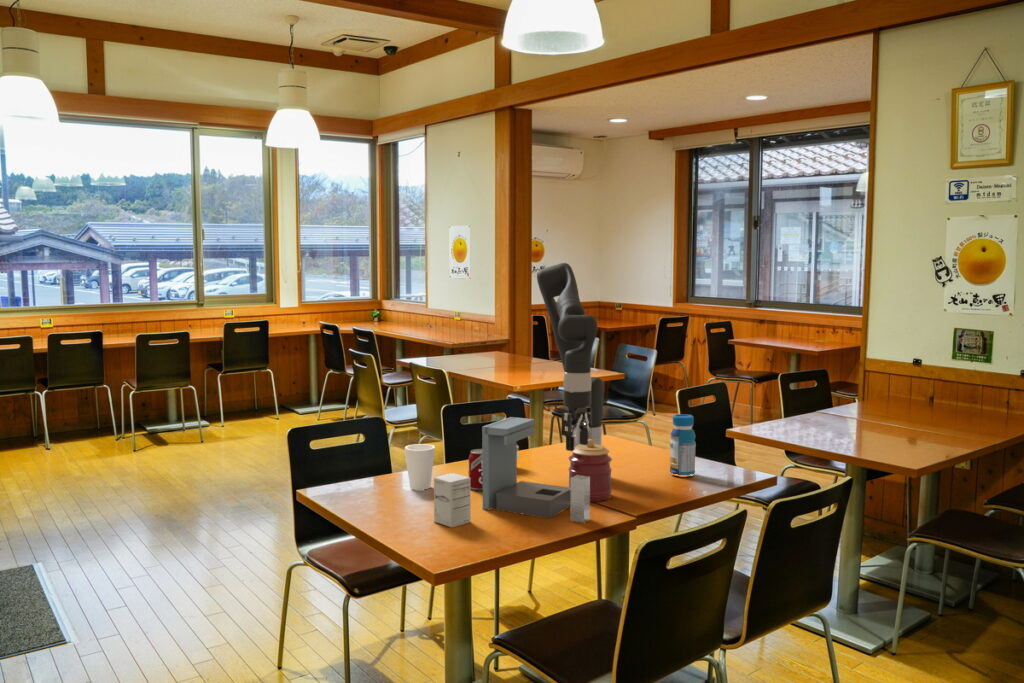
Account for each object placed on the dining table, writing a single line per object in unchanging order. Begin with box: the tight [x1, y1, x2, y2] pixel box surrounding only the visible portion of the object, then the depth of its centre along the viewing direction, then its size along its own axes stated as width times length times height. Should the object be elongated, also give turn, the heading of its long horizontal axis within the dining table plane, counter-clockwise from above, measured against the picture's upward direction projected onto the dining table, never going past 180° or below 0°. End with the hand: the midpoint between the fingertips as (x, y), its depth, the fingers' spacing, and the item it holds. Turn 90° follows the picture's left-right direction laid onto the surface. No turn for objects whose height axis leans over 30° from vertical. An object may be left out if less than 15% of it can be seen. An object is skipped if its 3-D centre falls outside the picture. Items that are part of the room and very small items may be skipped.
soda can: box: [468, 448, 483, 491], centre depth 262 cm, size 7×7×12 cm
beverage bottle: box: [669, 413, 697, 475], centre depth 277 cm, size 8×8×20 cm
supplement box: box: [433, 472, 471, 528], centre depth 228 cm, size 7×7×13 cm
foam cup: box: [404, 443, 436, 491], centre depth 263 cm, size 10×9×13 cm
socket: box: [495, 480, 571, 519], centre depth 242 cm, size 15×17×5 cm
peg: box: [569, 475, 591, 524], centre depth 229 cm, size 4×4×12 cm
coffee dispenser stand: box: [481, 416, 535, 510], centre depth 245 cm, size 17×8×24 cm, turn 151°
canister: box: [568, 439, 613, 503], centre depth 252 cm, size 13×13×18 cm
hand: (577, 447), depth 228 cm, fingers open, 8 cm apart
